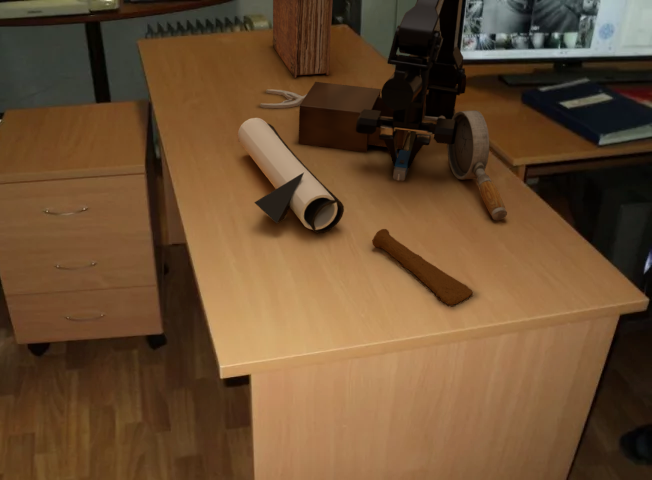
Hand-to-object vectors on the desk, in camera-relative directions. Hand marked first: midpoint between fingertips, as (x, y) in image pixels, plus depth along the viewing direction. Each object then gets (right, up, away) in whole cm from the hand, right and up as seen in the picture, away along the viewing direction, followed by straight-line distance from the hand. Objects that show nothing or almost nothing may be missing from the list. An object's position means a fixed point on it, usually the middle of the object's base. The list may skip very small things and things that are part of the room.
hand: (401, 166), depth 145 cm
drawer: (+1, +8, +11) cm, 14 cm away
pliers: (-21, +20, +29) cm, 41 cm away
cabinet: (-11, +9, +14) cm, 20 cm away
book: (-19, +37, +53) cm, 67 cm away
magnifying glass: (+13, -5, -5) cm, 15 cm away
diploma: (-26, -6, -7) cm, 28 cm away
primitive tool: (-2, -21, -28) cm, 35 cm away
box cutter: (0, -1, +1) cm, 1 cm away
